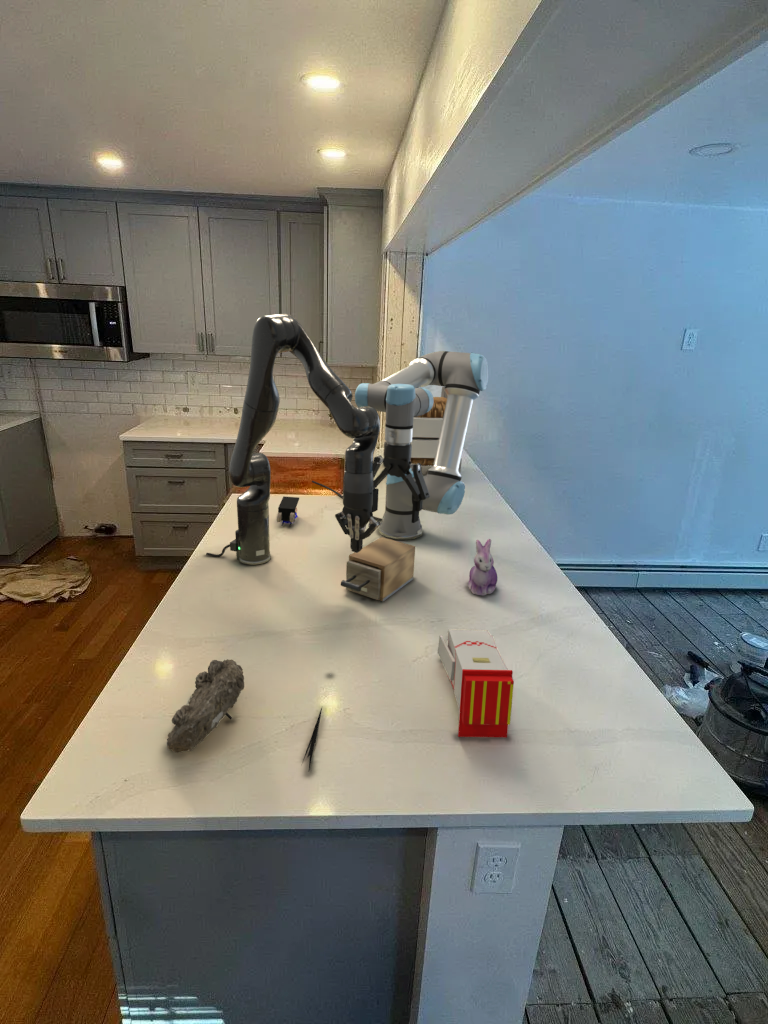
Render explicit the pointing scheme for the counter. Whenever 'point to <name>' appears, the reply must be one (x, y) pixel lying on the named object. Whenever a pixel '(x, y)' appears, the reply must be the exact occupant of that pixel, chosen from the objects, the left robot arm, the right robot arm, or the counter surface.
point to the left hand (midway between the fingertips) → (356, 551)
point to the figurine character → (287, 510)
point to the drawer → (363, 579)
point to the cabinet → (389, 563)
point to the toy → (478, 682)
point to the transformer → (428, 433)
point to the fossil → (206, 705)
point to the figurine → (483, 571)
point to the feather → (313, 740)
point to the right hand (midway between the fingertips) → (394, 516)
